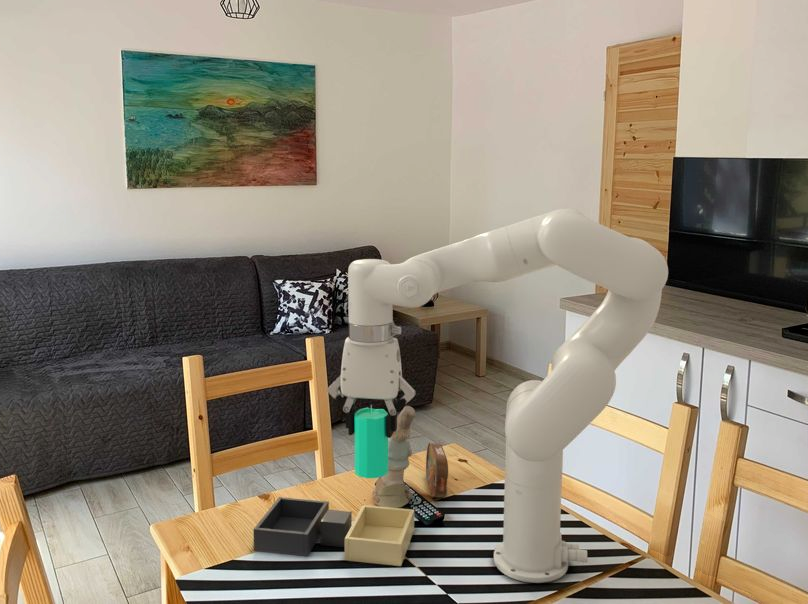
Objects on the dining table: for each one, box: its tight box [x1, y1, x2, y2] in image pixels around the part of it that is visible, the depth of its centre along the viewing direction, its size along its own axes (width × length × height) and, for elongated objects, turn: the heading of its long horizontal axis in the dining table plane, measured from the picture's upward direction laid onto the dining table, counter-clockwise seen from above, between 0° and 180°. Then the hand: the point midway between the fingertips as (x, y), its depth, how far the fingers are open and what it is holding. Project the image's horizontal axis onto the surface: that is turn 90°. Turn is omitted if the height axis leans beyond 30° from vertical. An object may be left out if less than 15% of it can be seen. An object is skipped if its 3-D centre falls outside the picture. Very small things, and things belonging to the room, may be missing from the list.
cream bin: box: [344, 504, 415, 567], centre depth 127 cm, size 10×12×4 cm
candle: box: [354, 404, 388, 479], centre depth 124 cm, size 6×6×12 cm
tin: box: [425, 442, 449, 498], centre depth 149 cm, size 15×3×8 cm, turn 6°
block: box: [320, 509, 353, 549], centre depth 128 cm, size 4×4×4 cm
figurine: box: [371, 405, 416, 508], centre depth 143 cm, size 9×8×20 cm
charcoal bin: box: [253, 496, 330, 557], centre depth 130 cm, size 10×12×4 cm
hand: (371, 432), depth 123 cm, fingers closed on candle, 6 cm apart
